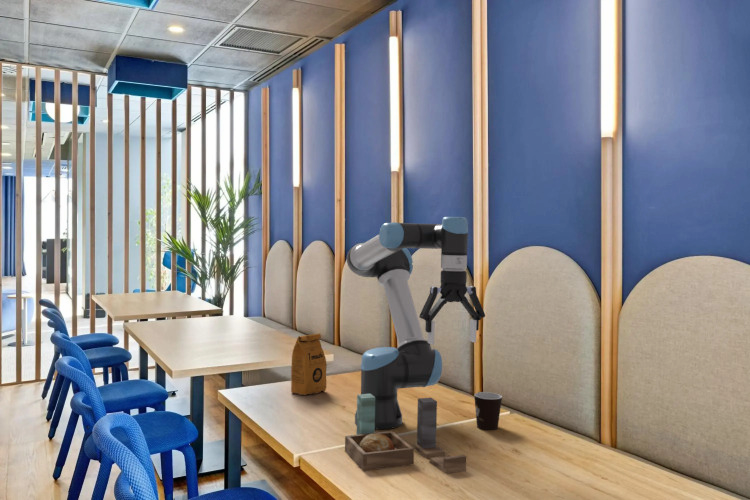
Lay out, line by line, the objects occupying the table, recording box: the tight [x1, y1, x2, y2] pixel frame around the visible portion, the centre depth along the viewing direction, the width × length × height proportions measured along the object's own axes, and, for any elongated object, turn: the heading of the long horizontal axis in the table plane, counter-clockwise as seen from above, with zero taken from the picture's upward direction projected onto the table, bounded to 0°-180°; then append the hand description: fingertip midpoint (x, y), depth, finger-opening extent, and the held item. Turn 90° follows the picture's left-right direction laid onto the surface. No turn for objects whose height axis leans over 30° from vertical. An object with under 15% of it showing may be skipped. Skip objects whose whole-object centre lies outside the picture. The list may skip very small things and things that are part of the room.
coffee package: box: [290, 332, 327, 396], centre depth 230 cm, size 10×12×22 cm
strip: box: [429, 454, 467, 475], centre depth 159 cm, size 8×6×4 cm
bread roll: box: [359, 434, 395, 453], centre depth 164 cm, size 10×10×8 cm
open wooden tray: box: [344, 393, 415, 472], centre depth 166 cm, size 20×14×14 cm
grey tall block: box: [412, 397, 447, 459], centre depth 169 cm, size 8×6×14 cm
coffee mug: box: [473, 391, 503, 431], centre depth 194 cm, size 12×9×10 cm
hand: (452, 342), depth 179 cm, fingers open, 13 cm apart
